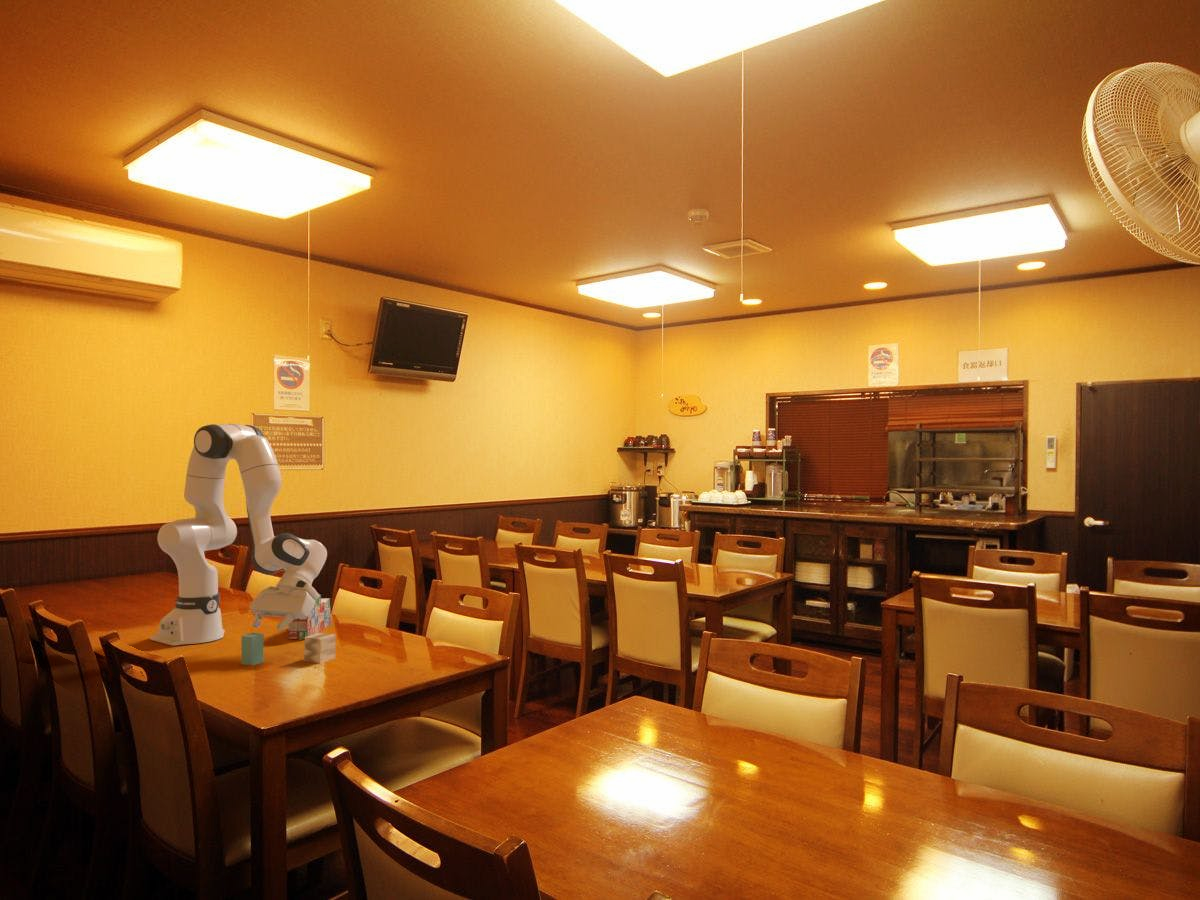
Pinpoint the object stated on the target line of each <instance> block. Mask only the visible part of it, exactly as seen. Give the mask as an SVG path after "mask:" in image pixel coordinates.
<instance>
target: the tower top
mask: <svg viewBox="0 0 1200 900" xmlns="http://www.w3.org/2000/svg"><path fill="white" fill-rule="evenodd" d="M336 641H337V635H336V634H334V633H332V634H331V633H326V632H319V633H317V634H314V635H311V636H307V637H305V640H304V649H305V650H312V651H319V652H321V651H324V650H327V649H330V648H333V647H335V648H336V646H337V642H336Z"/></svg>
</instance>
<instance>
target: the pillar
mask: <svg viewBox="0 0 1200 900" xmlns="http://www.w3.org/2000/svg"><path fill="white" fill-rule="evenodd" d="M261 663H264V633H259V632H251V633H248V634H244V635H241V665H245V666H256V665H257V664H258V665H259V664H261Z"/></svg>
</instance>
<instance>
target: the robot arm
mask: <svg viewBox="0 0 1200 900" xmlns="http://www.w3.org/2000/svg"><path fill="white" fill-rule="evenodd" d="M230 460H235V461H236V463H237V465H238V469H239V473H240V477H241V481H242V485H243V489H244V490H243V491H244V495H245V503H246V505H245V506H246V513H247V519H248V524H249V529H250V534H251V535H250V536H251V540H252V549H251V556H250V557H251V563H252V566H253V567H254V569H255V570H256V571H257V572H258V573H261V574H263V575H266V576H271V575H275V574H277V573H279V572H280V571H282V570H284V573H283V574H282V576H281V577H280V579H279V581H278V582H277V584H276V586H268V587H266V588H264V589H262V590H261V591H260V592H259V593H258V594H257V595H256V596H255V598H254V599H253V600H252V601H251V603H250V604H249V611H251V613H253V615H254V619H253V622H252V627H253V628H257V629H258V628H260V627H261V625H262V624H263V622H262V621H261V619H263V618H264V617H265V616H267V617H276V618H277V617H279V618H284V619H283V620H281V621H279V622H278V624H277V625H276V628H277V629H278V630H280V631H285V629H286V627H287V626H289V624H290V623H291V622H292V621H293V620H294V619H295V618H298V619H304V618H306V617H307V616H308V615H309V613H310V612H311V610H312V608H313V606H314V604H315V600H317V599H318V597H319V595H320V593H319V592H317V590H316V589H315V587H313V586H312V584H313V581H314V580H315V579H316V578H317V577H319V574H320V572H321V571H322V569H323V567H324V565H325V563H326V560H327V557H328V550H327V548H326V547H325V545H324V544H322V542H320V541H318V540H316V539H304V538H300V537H297V536H296V535H294V534H293V533H289V532H283V533H279V534H278V535H274V534H275V533H274V530H273V525H272V524H273V523H272V518H271V508H272V505H273V503H274V501H275V499H276V497H277V495H278V494H279V492H280V490H281V489H282V486H283V485H282V474H281V473H282V472H281V468H280V466H279V463H278V460H277V457H276V453H275V452H274V449H273V448H272V446H271V444H270V442H269V441H268V439H267V438H266V437H265V436H264V434H263V432H262V431H261V430H260V429H259V428H258V427H255V426H253V425H250V424H245V425H244V424H239V423H227V424H226V423H225V424H223V423H222V424H214V423H213V424H207V425H204V426H201V427H199V428H198V429H197V431H196V432H195V434H194V438H193V448H192V450H191V453H190V456H189V459H188V463H187V469H186V477H185V483H184V484H185V485H184V492H183V493H184V494H183V497H184V500H185V501H186V502H187V503H188V504H190V505H191V506H193V507H194V512H195V516H194V517H193V518H192V517H191V518H181V519H180V518H179V519H176V520H172V521H170V522H167V523H165V524H163V525H162V526H161V527H160V529H159V530H158V532H157V537H156V538H157V543H158V544H157V545H158V546H159V548H160V549H161V551H163V553H166V554H167V555H168V556H170V558H171V559H172V560H173V562H174V564H175V567H176V569H177V575H178V593H179V594H178V596H177V597H174V598H172V600H173V601H172V602H175V605H174V608H173V609H172V610H171V611H170V612H168V613H167V614H165V616H163V617H162V619H160V621H159V625H158V632H157V633H155V634H153V635H151V636H150V637H149V640H150V641H153V642H158V643H161V644H164V645H165V644H166V645H168V646H180V645H181V646H182V645H191V644H192V645H193V644H203V643H209V642H213V641H218V640H220V639H222V638H223V637H224V636H225V635H224V634H225V631H226V630H225V629H224V628H223V621H222V620H223V619H222V612H221V611H222V610H221V608H220V607H219V605H220V602H221V601H220V600H221V597H220V593H219V570H218V569H217V567H216V566H215V565H213V564H212V563H209V562H208V560H207V559H206V556H205V552H207V551H213V550H220V549H222V548H225V547H227V546H229V545H231V544H233V543H234V542H235V540H236V537H237V535H238V529H237V525H236V523H235V522H234V520H233V519H231V517H229V515H228V513H227V512H226V511H227V510H226V509H225V504H224V503H225V502H224V492H225V481H226V473H227V465H228V462H230Z"/></svg>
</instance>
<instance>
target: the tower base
mask: <svg viewBox="0 0 1200 900" xmlns="http://www.w3.org/2000/svg"><path fill="white" fill-rule="evenodd" d="M332 659H336V647H333V648H330V649H327V650H324V651H321V652H319V651H312V650H305V648H304V649H303V662H309V663H315V664H322V663H325V662H327V661H331V660H332Z"/></svg>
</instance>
